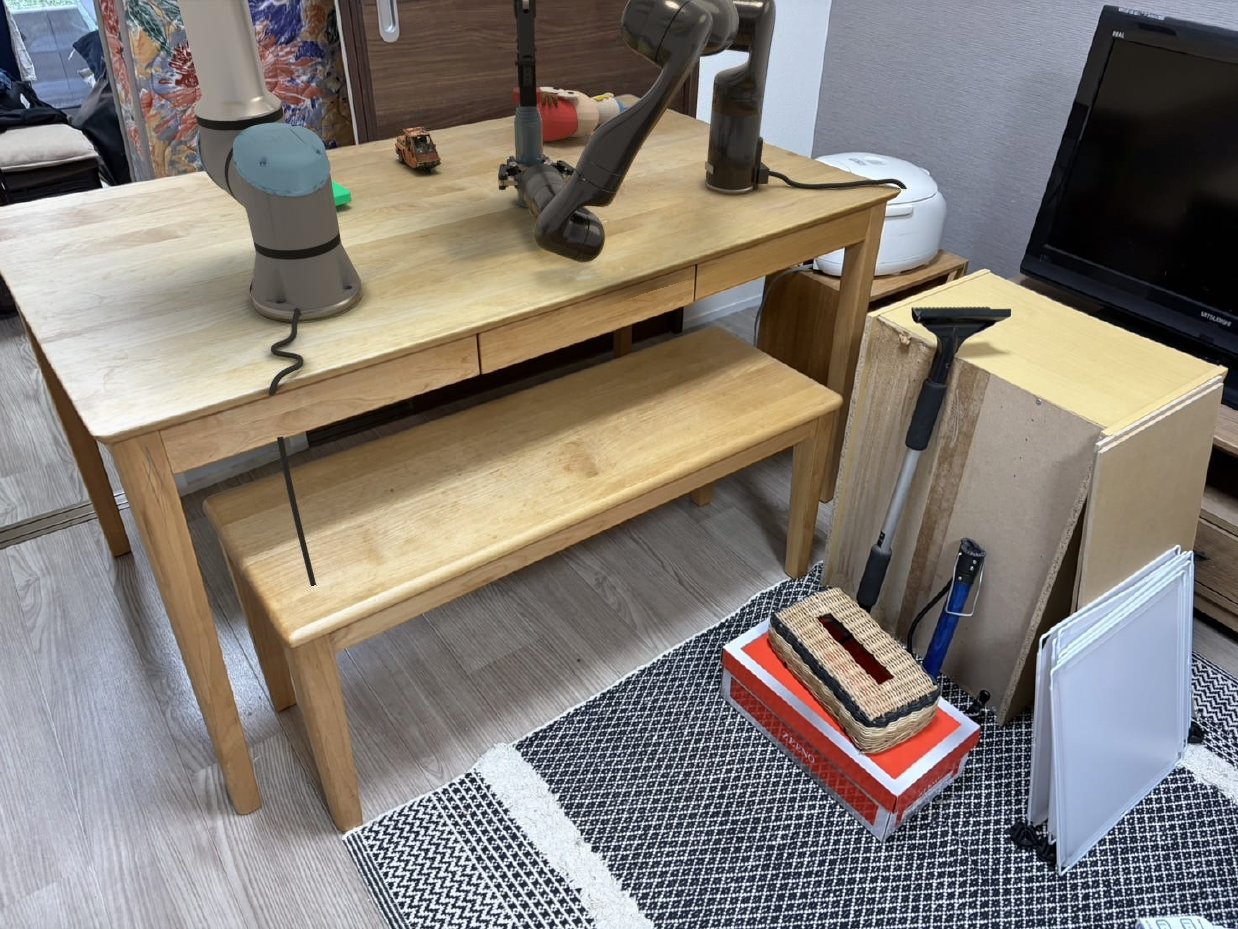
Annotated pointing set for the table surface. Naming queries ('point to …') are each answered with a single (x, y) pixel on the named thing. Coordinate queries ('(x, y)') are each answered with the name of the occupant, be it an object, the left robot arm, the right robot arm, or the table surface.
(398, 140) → the toy car
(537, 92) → the cap
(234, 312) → the table surface
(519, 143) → the bottle
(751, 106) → the right robot arm
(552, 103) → the toy
